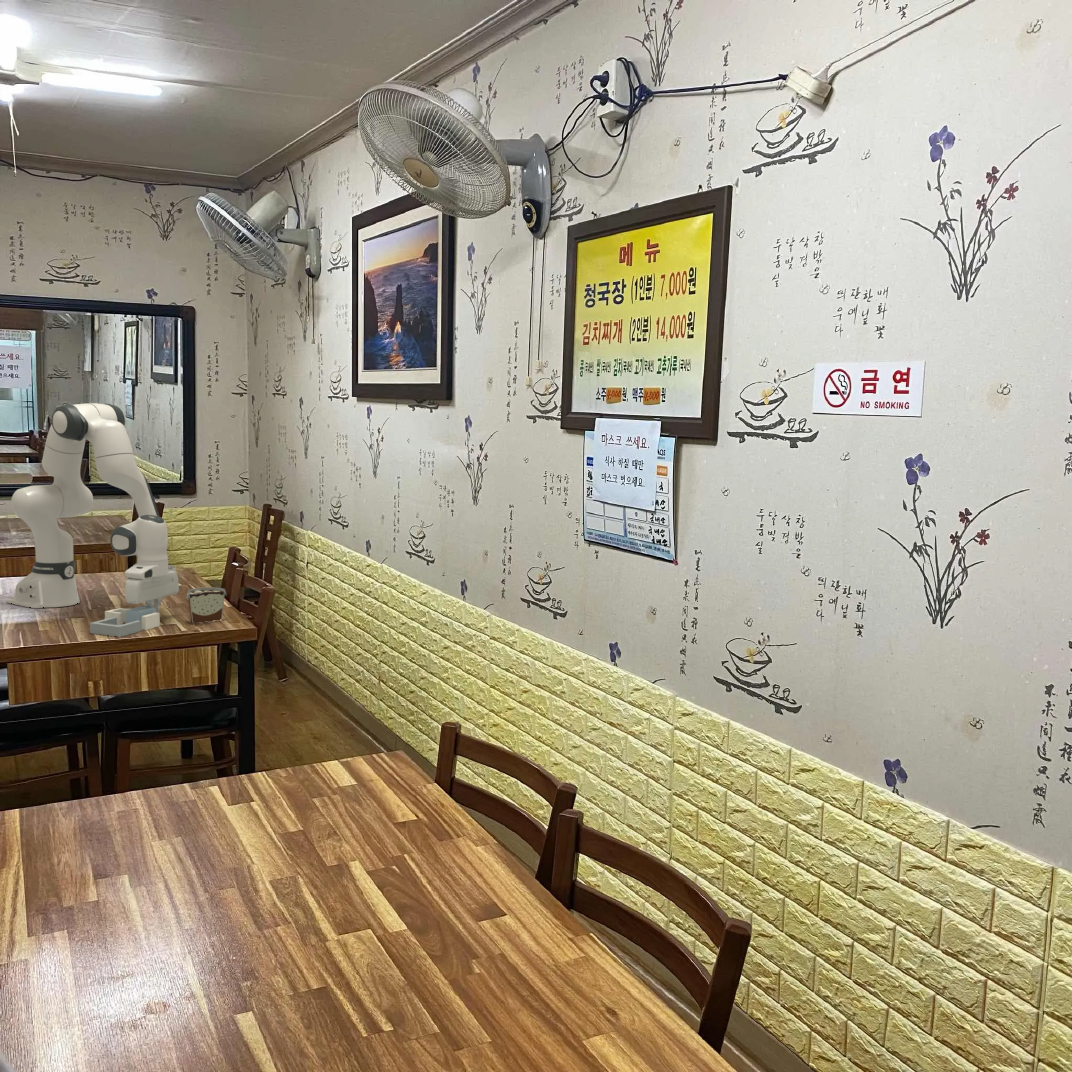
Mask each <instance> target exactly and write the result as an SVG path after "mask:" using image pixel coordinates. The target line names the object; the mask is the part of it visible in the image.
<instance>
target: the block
mask: <svg viewBox="0 0 1072 1072" xmlns="http://www.w3.org/2000/svg"><path fill="white" fill-rule="evenodd" d="M128 609H129V610H126V622H125V624H126V623H130V622H133V621H137V620H138V621H142V616H144V615H148V614H152V613H155V612H156V608H155V607H147V606H146V605H142V606H141V605H140V606H137V607H133V608H128Z"/></svg>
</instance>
